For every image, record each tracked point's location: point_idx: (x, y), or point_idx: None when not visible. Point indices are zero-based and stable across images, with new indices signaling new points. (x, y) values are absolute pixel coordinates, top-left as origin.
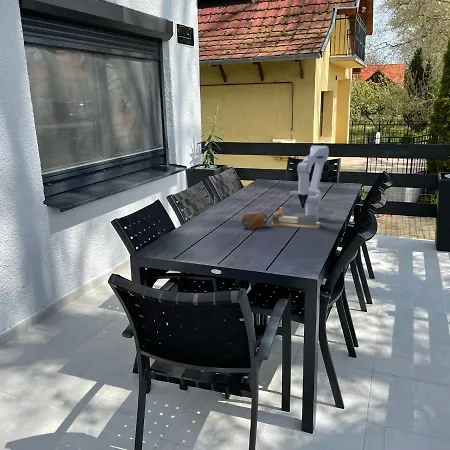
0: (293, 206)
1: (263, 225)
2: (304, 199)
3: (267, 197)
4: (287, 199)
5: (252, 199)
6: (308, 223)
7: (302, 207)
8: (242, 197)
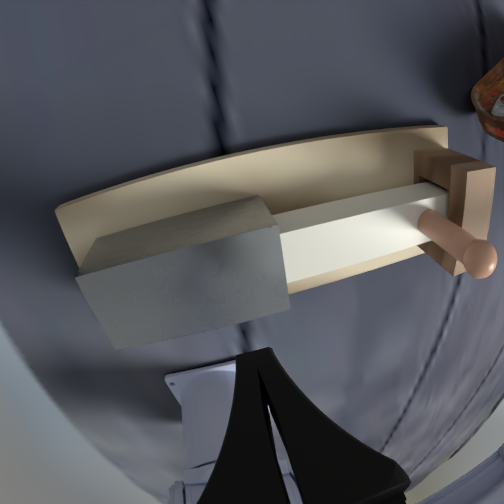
0: None
1: (475, 94)
2: (249, 480)
3: (416, 455)
4: None
5: (456, 425)
6: (153, 227)
7: (259, 356)
8: (472, 419)
